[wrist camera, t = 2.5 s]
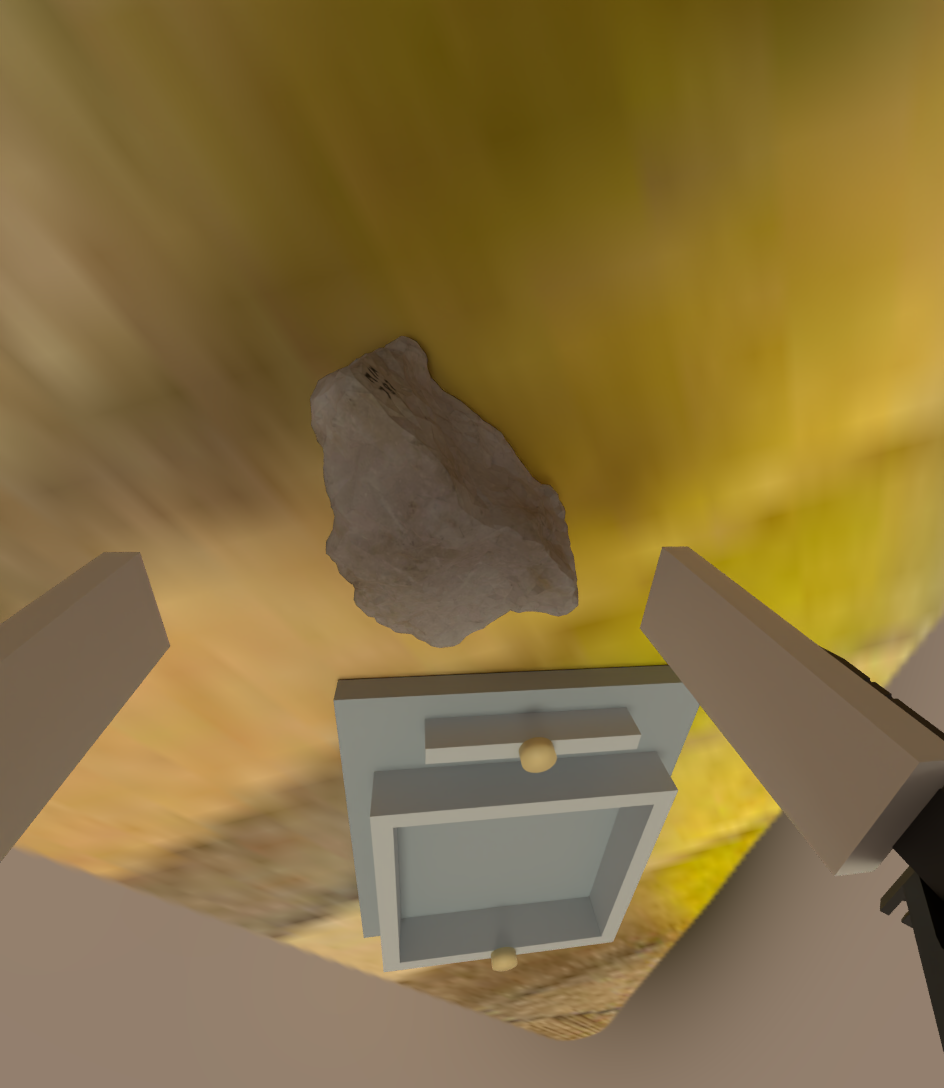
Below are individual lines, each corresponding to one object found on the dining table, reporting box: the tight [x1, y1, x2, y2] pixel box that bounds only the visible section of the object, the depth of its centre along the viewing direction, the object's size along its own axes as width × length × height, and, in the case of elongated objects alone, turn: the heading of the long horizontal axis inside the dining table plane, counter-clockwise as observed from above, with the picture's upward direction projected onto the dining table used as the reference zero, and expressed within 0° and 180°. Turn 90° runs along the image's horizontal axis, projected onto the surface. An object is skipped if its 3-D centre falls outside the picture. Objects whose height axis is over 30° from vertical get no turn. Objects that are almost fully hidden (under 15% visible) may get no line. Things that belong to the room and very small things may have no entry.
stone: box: [310, 336, 578, 648], centre depth 14 cm, size 8×10×6 cm
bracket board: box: [334, 665, 700, 972], centre depth 24 cm, size 22×18×4 cm
